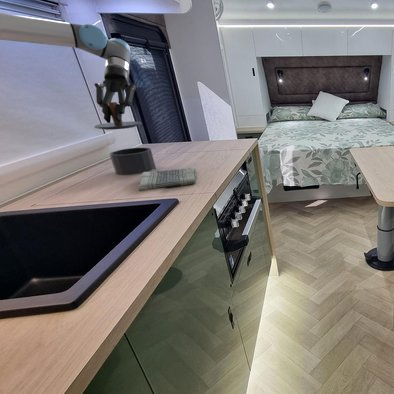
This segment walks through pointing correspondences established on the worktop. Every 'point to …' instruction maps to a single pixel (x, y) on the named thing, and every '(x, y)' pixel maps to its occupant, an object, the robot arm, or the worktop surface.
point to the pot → (132, 161)
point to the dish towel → (167, 178)
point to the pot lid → (115, 123)
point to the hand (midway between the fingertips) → (112, 120)
